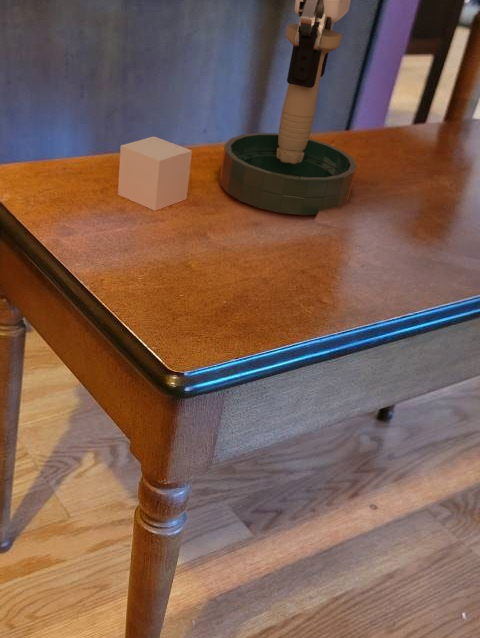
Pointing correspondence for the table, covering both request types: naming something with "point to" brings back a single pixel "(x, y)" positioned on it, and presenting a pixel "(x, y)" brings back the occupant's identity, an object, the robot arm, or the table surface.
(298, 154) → the handle
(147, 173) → the beige cube
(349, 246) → the table surface
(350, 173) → the bowl
